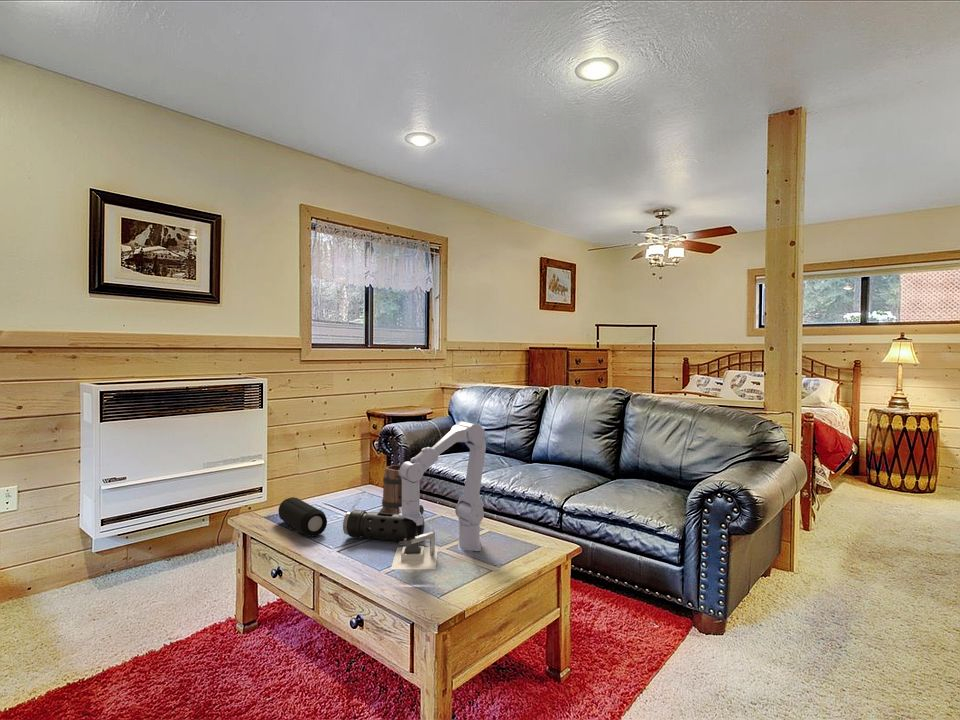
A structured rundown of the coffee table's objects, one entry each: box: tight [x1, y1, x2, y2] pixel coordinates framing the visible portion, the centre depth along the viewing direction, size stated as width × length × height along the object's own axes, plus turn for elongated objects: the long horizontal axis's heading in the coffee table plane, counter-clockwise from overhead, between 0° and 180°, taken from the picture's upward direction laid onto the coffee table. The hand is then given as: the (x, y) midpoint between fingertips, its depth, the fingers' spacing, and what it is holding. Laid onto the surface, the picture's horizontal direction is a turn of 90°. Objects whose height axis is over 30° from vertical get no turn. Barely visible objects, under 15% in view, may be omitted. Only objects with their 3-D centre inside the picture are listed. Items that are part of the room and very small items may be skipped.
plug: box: [398, 541, 420, 554], centre depth 174 cm, size 4×7×6 cm, turn 92°
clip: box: [403, 531, 436, 556], centre depth 170 cm, size 2×12×8 cm, turn 133°
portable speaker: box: [277, 496, 328, 537], centre depth 201 cm, size 26×10×10 cm, turn 43°
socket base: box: [390, 545, 439, 571], centre depth 173 cm, size 18×14×3 cm
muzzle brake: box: [342, 509, 425, 542], centre depth 189 cm, size 10×28×10 cm, turn 78°
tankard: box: [379, 464, 425, 516], centre depth 216 cm, size 24×17×20 cm
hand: (410, 540), depth 170 cm, fingers closed
